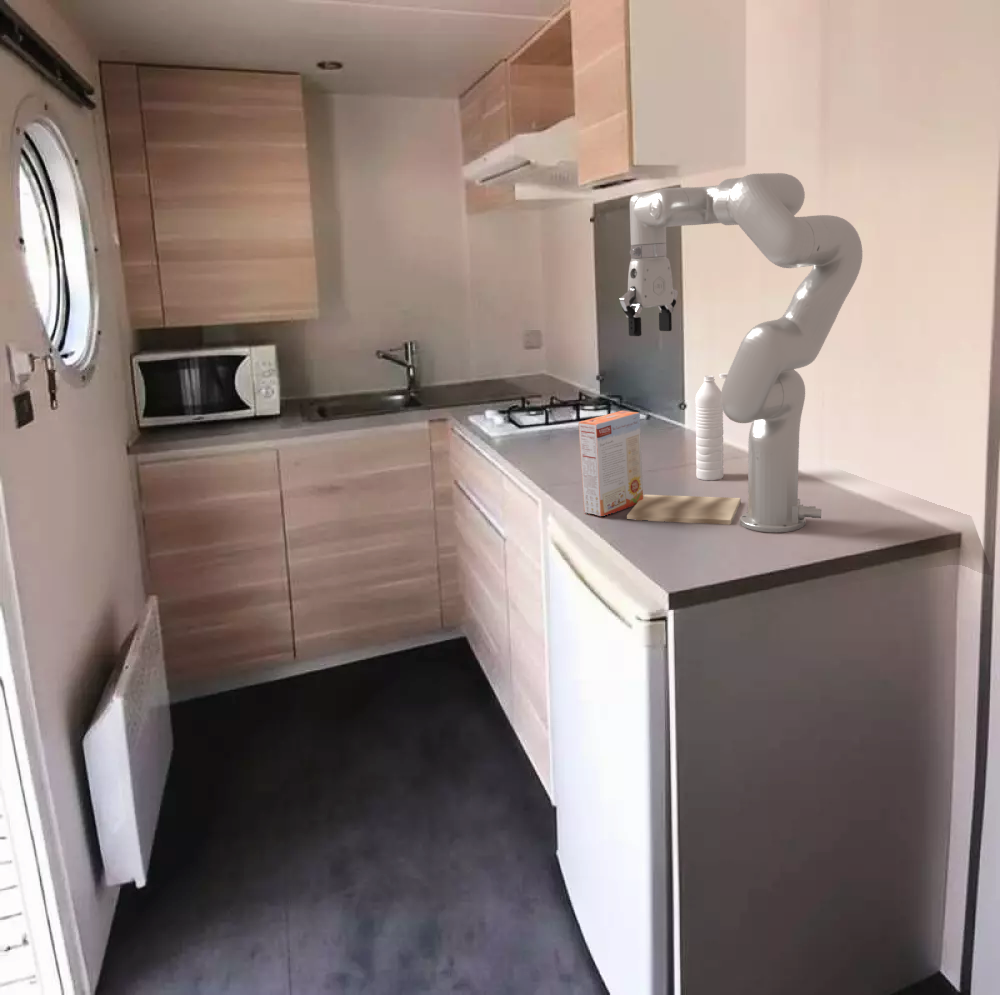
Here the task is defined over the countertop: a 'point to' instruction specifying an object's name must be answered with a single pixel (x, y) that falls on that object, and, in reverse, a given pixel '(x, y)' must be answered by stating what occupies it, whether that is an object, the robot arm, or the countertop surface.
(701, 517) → the cutting board
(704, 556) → the countertop surface
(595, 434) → the cracker box
